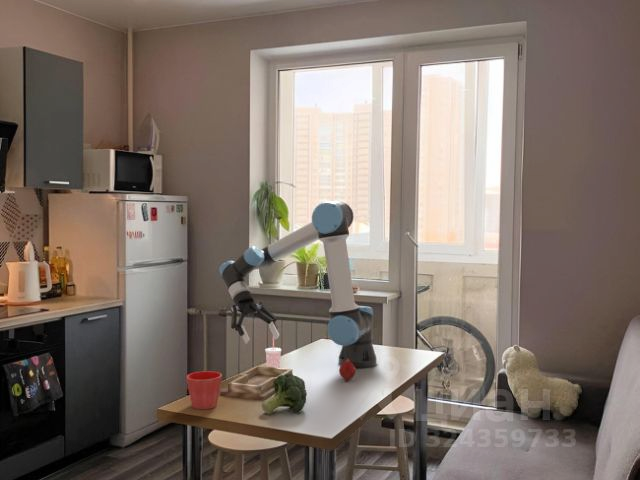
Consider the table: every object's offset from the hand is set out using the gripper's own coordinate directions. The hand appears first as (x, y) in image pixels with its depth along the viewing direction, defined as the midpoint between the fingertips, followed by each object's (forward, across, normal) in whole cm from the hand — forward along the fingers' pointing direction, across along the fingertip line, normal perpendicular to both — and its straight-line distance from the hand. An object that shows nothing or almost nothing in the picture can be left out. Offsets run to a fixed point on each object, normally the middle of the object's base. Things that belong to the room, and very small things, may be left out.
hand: (262, 339), depth 251 cm
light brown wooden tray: (+21, +14, +5) cm, 26 cm away
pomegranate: (+30, -15, +14) cm, 37 cm away
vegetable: (+40, +23, +24) cm, 52 cm away
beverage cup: (+13, -1, -4) cm, 13 cm away
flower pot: (+26, +39, +9) cm, 48 cm away
